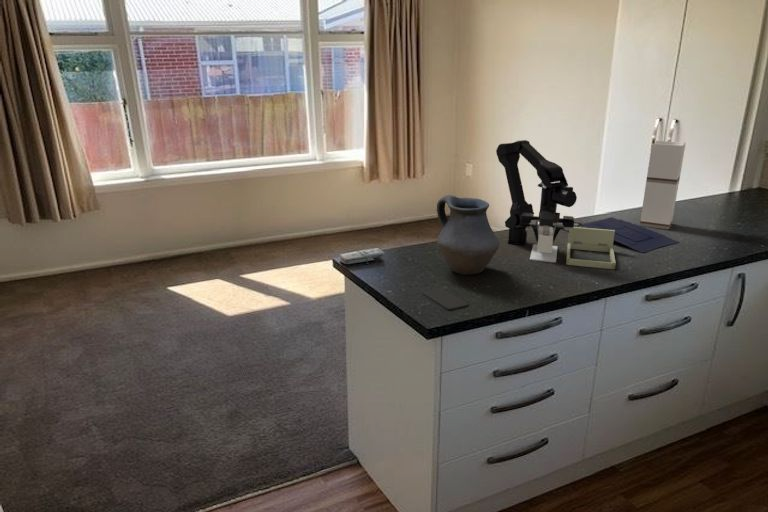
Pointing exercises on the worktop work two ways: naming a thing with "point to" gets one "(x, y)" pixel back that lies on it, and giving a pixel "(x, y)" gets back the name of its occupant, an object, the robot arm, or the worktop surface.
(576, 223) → the graphics card
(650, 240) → the navy flat panel
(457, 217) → the pitcher
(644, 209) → the tall banded white pillar
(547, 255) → the mat
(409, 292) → the worktop surface
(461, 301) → the phone
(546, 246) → the module
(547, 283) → the worktop surface
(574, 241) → the equipment case
